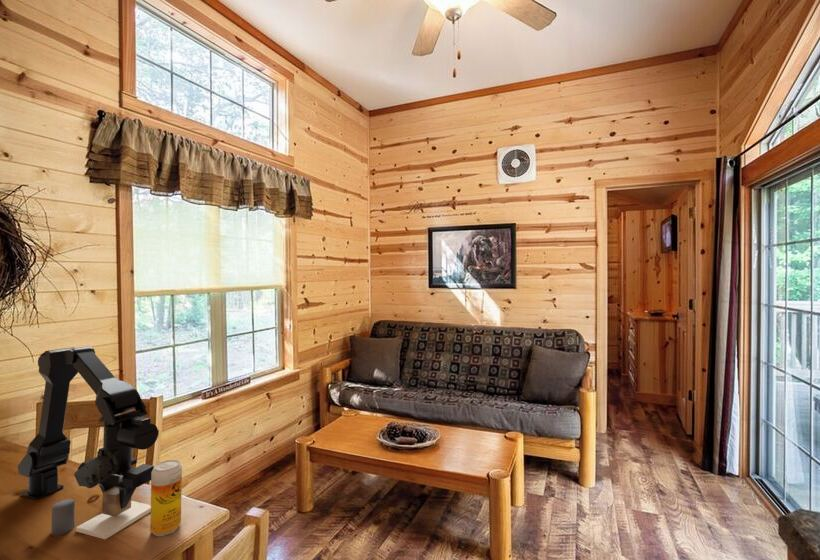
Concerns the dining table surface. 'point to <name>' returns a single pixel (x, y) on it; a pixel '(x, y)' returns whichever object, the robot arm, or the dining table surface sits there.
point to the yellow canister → (166, 497)
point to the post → (63, 517)
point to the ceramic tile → (113, 521)
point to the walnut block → (112, 502)
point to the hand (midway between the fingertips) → (116, 506)
